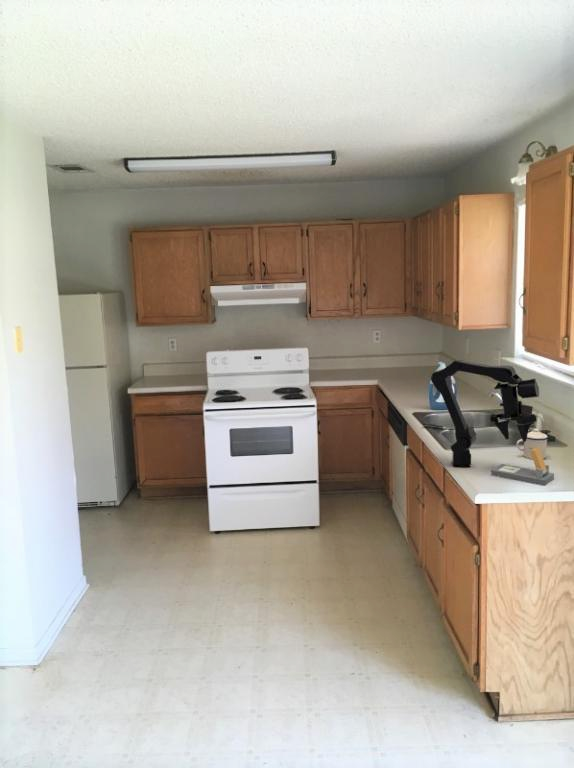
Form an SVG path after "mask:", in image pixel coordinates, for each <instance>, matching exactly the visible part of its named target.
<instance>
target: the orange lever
mask: <svg viewBox="0 0 574 768" xmlns="http://www.w3.org/2000/svg"><path fill="white" fill-rule="evenodd" d="M530 452H531V455H532V458H533V459H532V461H533V464H534V467H535V470H536V469H537V468H539V469H543V475H544V474H546V473H547V469H546V466H545V465H546V464H545V463H546V462H545V460H544V459H543V457H542V454H541V451H540V449H539V448H535V449H533V450H531V451H530Z"/></svg>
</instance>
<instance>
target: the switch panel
mask: <svg viewBox="0 0 574 768" xmlns="http://www.w3.org/2000/svg"><path fill="white" fill-rule="evenodd" d="M545 466H546V469H547V473H546V474H544V475H543V469H539V468H537V469H536V468H535V469H531V468H525V467H521V466H516V465H515V466H514V465H510V464H503V463H501V464H500V465H497V466H496V467H495V468H492V469H491V471H490V473H491V476H492V475H494V476H493V477H497V476H499V477H498V478H502V477H503V479H507V478H508V479H509V480H514V481H517V482H524V483H529V484H533V485H539V486H546V485H547V484H549V483H550V482H551V481H553V480H554V479H555V473H554V472H550V464H545Z"/></svg>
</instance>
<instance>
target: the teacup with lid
mask: <svg viewBox="0 0 574 768" xmlns="http://www.w3.org/2000/svg"><path fill="white" fill-rule="evenodd" d="M548 438H549V437H548V435H547V434H546V433H542V431H540V430H539V428H533V430H532V431H528V435H527V439H526V441H525V442H524V441H523V440H522V438H521V439H518V440H517V442H516V443H515V444H516V448H517V449H518V451H520V452H523V457H524V458H526V459H530V460H533V458H532V455H531V452H530V451H531V450H533V449H535V448H539V449H540V451H541V454H542V457H543V460H544V458H545V459H546V458H547V447H548V440H549V439H548ZM522 442H523V449H522V448H520V446H519V444H520V443H522Z"/></svg>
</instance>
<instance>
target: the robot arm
mask: <svg viewBox="0 0 574 768" xmlns="http://www.w3.org/2000/svg"><path fill="white" fill-rule="evenodd" d="M458 372H463V373H469V374H473V375H474V374H475V375H479V376H485V377H489V378H491V379H493V380H495V381H497V384H496V385H495V387H494V388H493V389H494V390H499V389H500V396H501V397H500V398H501V403H499V406H500V407H502V410H503V411H499V412H494V413H491V415H490V417H489V418H490V422H493V423H492V424H493V425H495V426H496V428H497V429H498V430H499V432H500V433H501V434H502V436H503V437H504V439H505V440H509V439H510V436H509V435H510V433H509V423H510V421H516V422H517V424H516V427H517V429H518V432H519V435H520V437H521V439H522V440H523V441H522V442H523V443H524V442H525V441H526V439H527V435H528V433H529V430H530V427H531V426H532V425H534V424H535V422H537V420H538V419H537V415H536V414H534V413H533V408H534V407H533V406H530V405H526V404H523V402H522V400H519V397H520V398H521V399H531V398H539V397H540V387H539V385H538V382H537V378H530V379H522V378H521V377H520V376H519V374H518V373H517V372H516V369H515V368H514V366H511V365H502V364H501V365H489V364H483V363H476V362H472V361H466V360H463V359H456V360H453V361H452V363H449V365H447V366H446V367H444V368H442V369H438V370H436V371H434V372H433V373H432V374H431V376H430V381H431V383H432V384H433V386H434V388H435V389H436V390H437V391H438V392H439V393H440V395H441V397H442V399H443V402H444V404H445V406H446V409H447V412H448V413H449V416H450V418H451V421H452V423H453V424H452V425H453V426H454V435H455V436H454V437H455V440H456V441H455V442H454V443H453V444H452V445H451V446H450V451H451V455H452V457H451V458H452V460H451V465H452V466H453V468H457V467H458V468H460V467H461V468H471V465H472V453H471V450H470V448H471V447H472V446H473V445H475V444H476V442H477V441H476V440H477V435H478V434H477V432H475V431H476V430H475V429H474V425H470V426H469V425H468V423H467V422H466V420H465V418H464V415H463V412H462V410H461V408H460V405H459V403H458V400H457V398H456V396H455V393H454V391H453V380H452V376H454V375H455V374H457V373H458Z"/></svg>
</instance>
